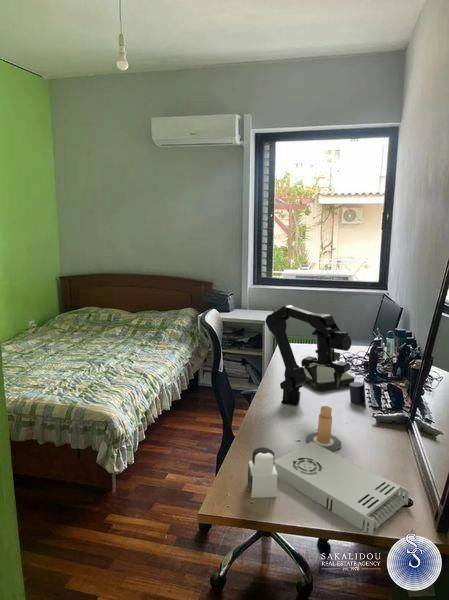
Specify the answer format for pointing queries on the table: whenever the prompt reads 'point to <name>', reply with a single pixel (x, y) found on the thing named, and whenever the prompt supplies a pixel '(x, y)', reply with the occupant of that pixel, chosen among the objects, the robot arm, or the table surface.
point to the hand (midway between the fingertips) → (326, 385)
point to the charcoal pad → (331, 446)
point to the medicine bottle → (262, 474)
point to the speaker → (357, 393)
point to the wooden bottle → (324, 425)
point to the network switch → (327, 379)
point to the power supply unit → (341, 485)
